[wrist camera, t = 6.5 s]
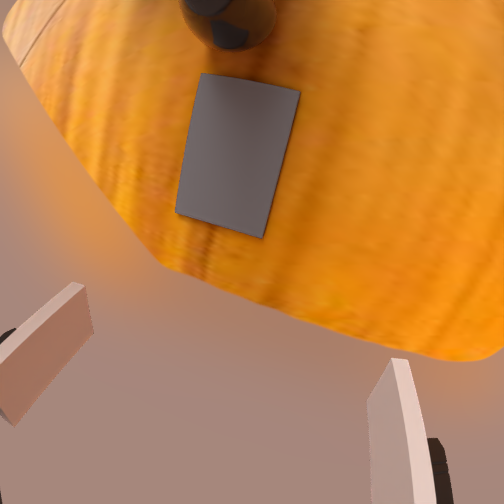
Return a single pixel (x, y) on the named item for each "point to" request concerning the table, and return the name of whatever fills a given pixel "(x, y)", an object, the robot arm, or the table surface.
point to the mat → (235, 152)
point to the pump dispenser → (229, 22)
